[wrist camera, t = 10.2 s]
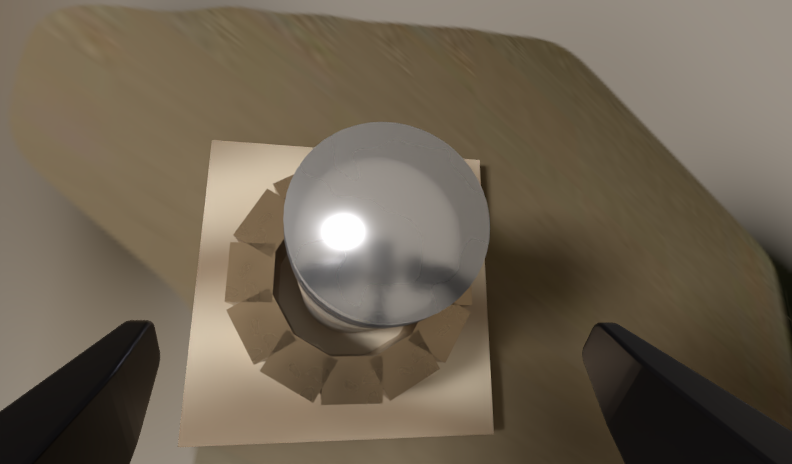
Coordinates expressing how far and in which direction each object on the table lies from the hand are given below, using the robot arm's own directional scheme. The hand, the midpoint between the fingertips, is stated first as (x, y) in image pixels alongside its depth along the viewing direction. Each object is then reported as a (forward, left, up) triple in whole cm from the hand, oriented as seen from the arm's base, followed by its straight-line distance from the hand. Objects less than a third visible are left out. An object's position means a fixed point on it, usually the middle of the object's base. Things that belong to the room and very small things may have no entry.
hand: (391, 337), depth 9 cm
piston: (+3, 0, -12) cm, 12 cm away
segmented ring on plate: (+3, 0, -13) cm, 13 cm away
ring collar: (+3, 0, -13) cm, 13 cm away
